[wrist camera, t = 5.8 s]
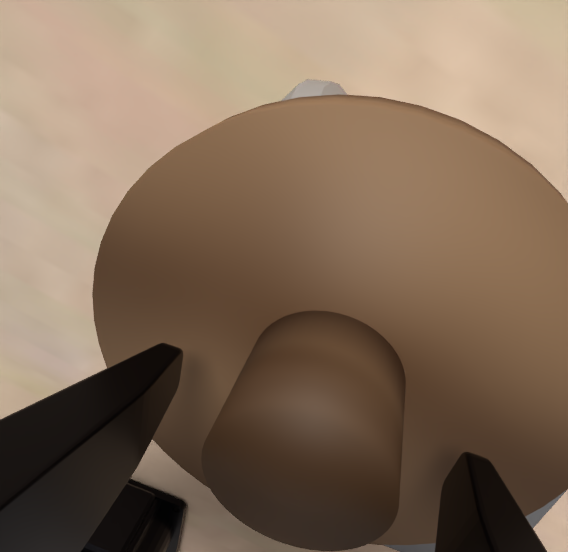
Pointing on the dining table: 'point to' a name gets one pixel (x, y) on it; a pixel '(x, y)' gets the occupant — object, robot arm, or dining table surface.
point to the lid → (347, 315)
